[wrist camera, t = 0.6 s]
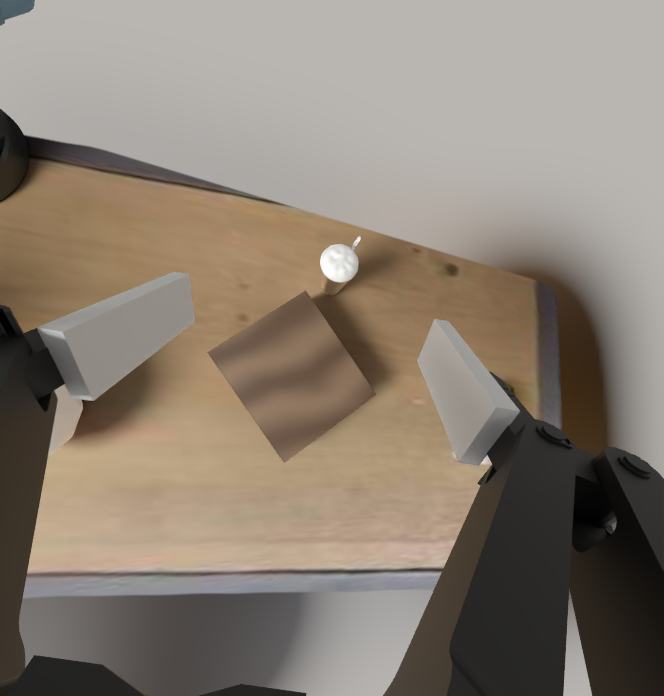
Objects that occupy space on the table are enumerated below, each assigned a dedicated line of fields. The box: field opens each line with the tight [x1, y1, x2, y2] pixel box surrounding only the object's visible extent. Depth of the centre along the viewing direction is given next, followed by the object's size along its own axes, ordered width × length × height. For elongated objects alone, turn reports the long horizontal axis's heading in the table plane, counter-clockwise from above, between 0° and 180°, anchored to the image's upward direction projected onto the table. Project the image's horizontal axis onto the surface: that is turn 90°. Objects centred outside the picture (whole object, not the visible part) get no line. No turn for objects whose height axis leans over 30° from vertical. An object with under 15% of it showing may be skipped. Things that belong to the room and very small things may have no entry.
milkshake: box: [320, 236, 362, 295], centre depth 33 cm, size 4×5×10 cm
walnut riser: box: [207, 291, 376, 463], centre depth 33 cm, size 16×14×5 cm
